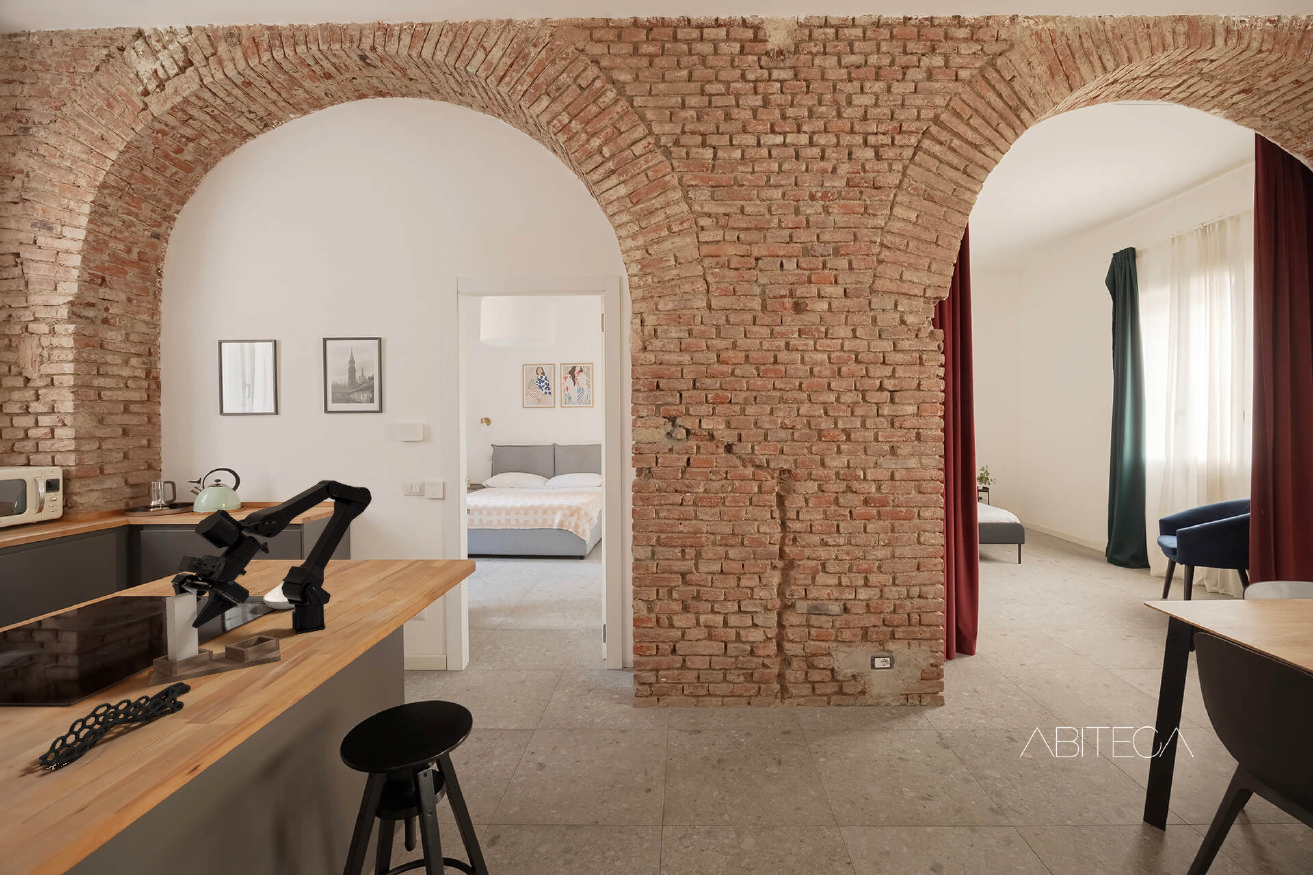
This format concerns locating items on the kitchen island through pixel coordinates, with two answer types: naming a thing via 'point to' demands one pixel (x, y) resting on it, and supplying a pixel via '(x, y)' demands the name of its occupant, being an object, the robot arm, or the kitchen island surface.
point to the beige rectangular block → (181, 626)
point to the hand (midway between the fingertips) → (180, 624)
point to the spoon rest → (277, 599)
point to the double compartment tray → (217, 660)
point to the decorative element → (114, 722)
